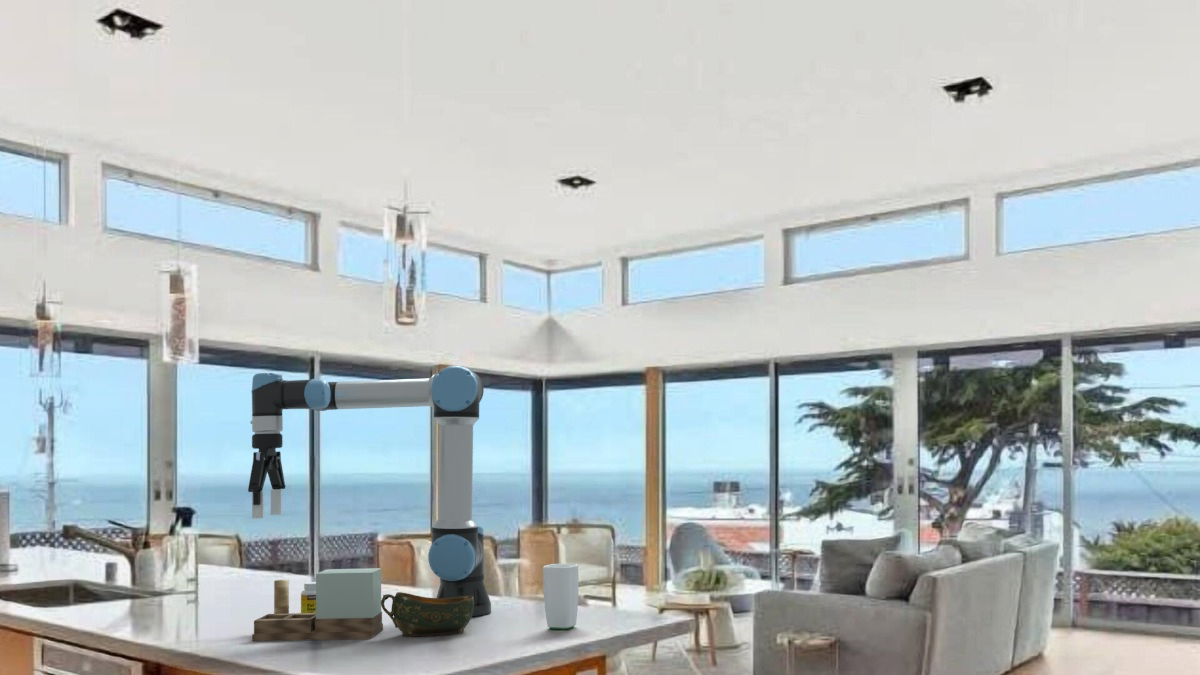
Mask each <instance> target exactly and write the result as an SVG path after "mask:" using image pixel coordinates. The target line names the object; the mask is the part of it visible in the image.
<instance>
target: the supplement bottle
mask: <svg viewBox="0 0 1200 675" xmlns="http://www.w3.org/2000/svg"><path fill="white" fill-rule="evenodd" d="M303 589H304V590H302V591H301V592H300V613H316V581H309V582H304V584H303Z"/></svg>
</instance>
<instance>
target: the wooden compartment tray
mask: <svg viewBox="0 0 1200 675" xmlns="http://www.w3.org/2000/svg"><path fill="white" fill-rule="evenodd" d="M383 630H384V623H383V611H381V613H379V614H378V615H376V616H375V617H373V618H339V619H316V613H301V612H300V613H297V612H296V613H294V612H293V613H289V614H274V613H268V614H265V615H263V616H261V617H258V618H257V619H255V620H253V634H252V642H271V641H272V642H273V641H277V642H278V641H279V642H280V641H315V640H319V641H320V640H321V641H322V640H324V641H325V640H328V641H329V640H365V639H366V640H367V639H369V640H370V639H371V638H372V639H373V638H374V637H375V636H377V635H378V634H379V633H381V632H382V631H383Z"/></svg>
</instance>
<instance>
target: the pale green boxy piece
mask: <svg viewBox="0 0 1200 675" xmlns="http://www.w3.org/2000/svg"><path fill="white" fill-rule="evenodd" d="M315 582H316V619H339V618H373V617H375V616H376V615H378V614H379V613H381V612H382V606H381V600H382V568H381V567H373V568H372V567H370V568H335V569H334V568H330V569H328V568H327V569H324V570H322V571H319V572H317V573H315Z"/></svg>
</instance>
